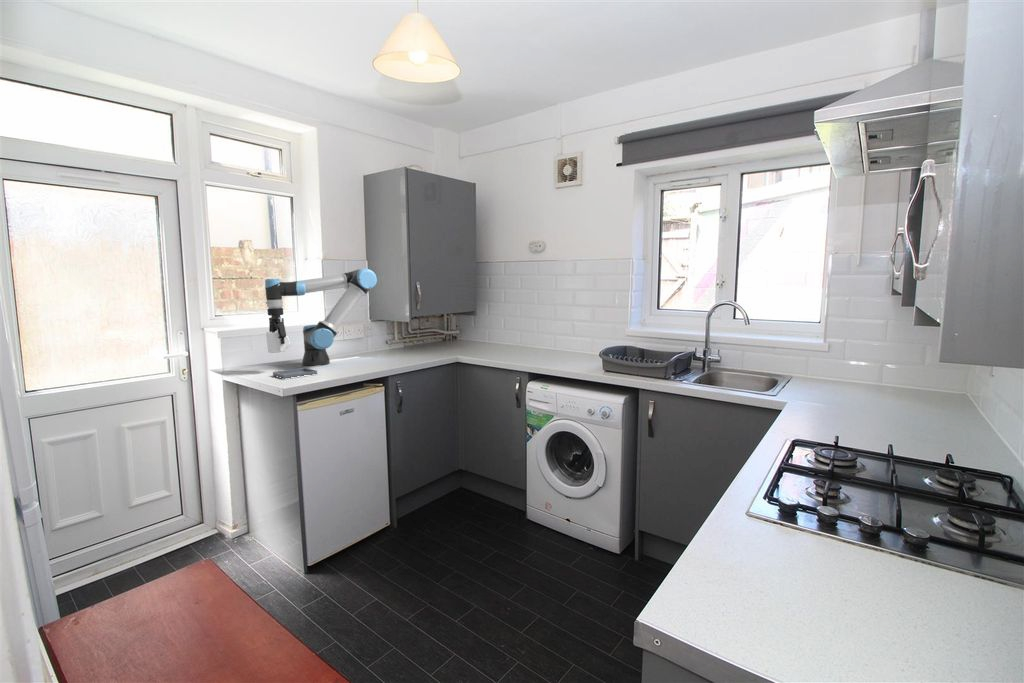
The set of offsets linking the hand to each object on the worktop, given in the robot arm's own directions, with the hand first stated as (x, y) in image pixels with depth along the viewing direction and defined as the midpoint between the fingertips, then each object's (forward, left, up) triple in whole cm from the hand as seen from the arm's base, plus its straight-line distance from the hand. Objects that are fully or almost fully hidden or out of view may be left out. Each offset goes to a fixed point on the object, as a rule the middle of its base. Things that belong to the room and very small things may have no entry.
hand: (279, 349), depth 258 cm
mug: (0, +1, -2) cm, 2 cm away
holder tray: (-1, +18, -12) cm, 22 cm away
